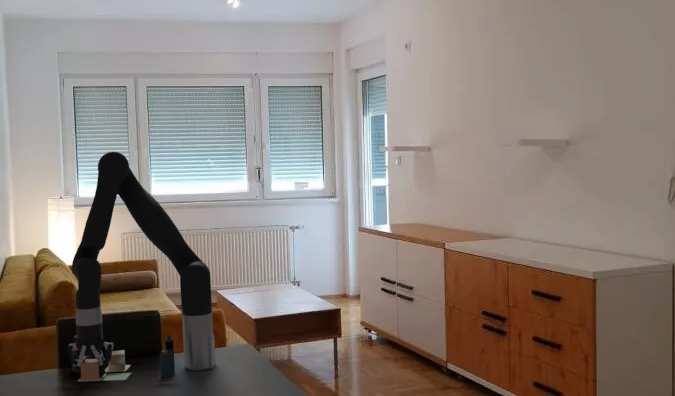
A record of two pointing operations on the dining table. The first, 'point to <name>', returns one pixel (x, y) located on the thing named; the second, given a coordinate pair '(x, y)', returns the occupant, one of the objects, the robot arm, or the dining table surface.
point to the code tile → (94, 380)
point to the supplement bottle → (75, 367)
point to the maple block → (117, 361)
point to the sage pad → (116, 376)
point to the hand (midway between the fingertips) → (92, 376)
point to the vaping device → (167, 359)
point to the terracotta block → (90, 369)
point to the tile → (118, 370)
